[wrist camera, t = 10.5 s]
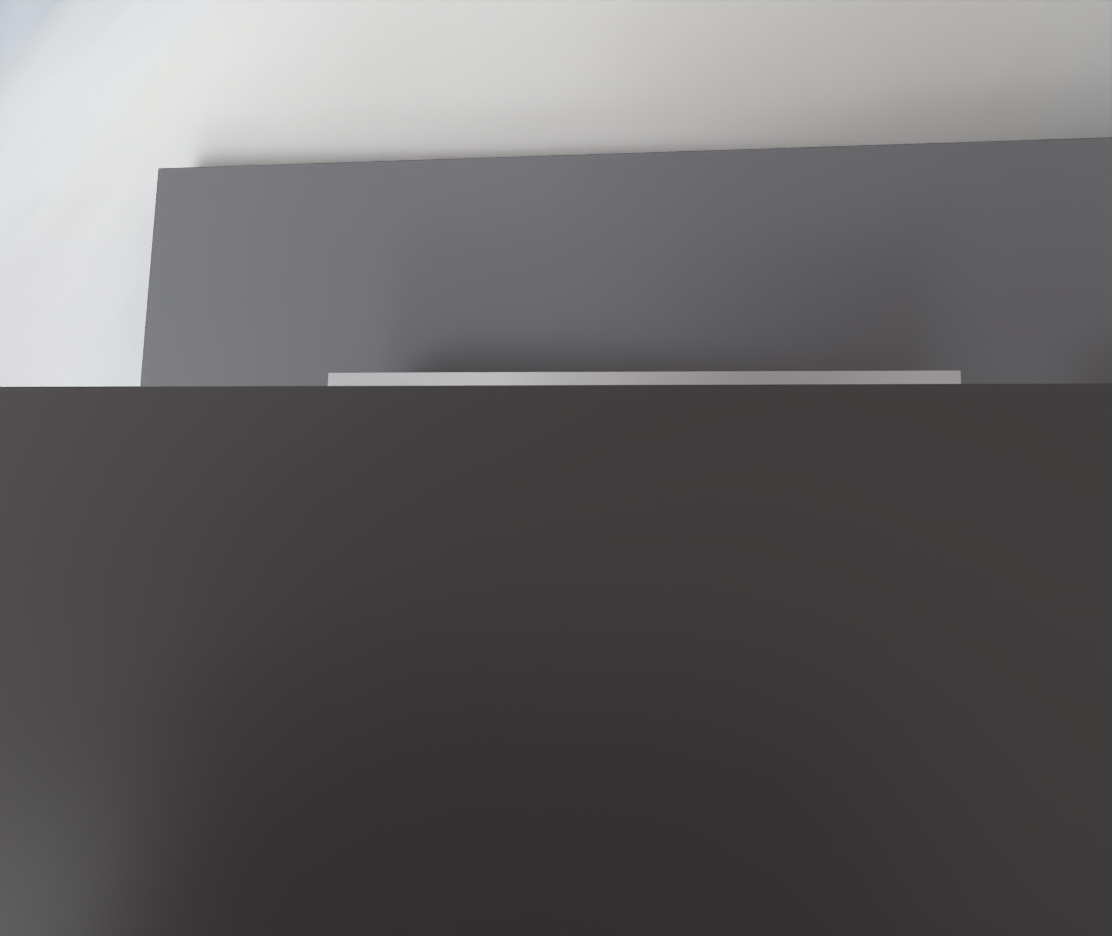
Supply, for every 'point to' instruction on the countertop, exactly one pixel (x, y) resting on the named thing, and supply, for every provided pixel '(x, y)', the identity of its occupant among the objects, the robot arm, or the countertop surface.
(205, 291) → the header dock
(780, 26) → the countertop surface
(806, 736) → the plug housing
